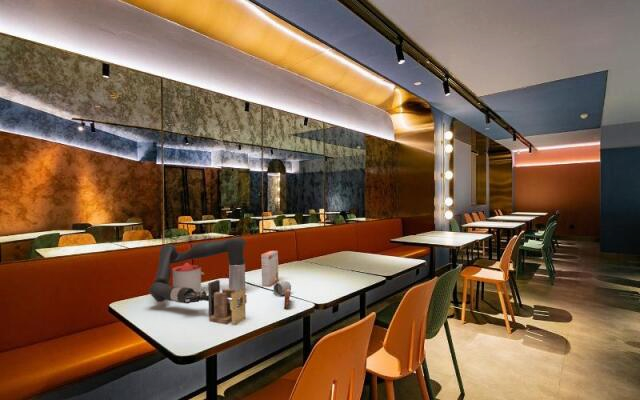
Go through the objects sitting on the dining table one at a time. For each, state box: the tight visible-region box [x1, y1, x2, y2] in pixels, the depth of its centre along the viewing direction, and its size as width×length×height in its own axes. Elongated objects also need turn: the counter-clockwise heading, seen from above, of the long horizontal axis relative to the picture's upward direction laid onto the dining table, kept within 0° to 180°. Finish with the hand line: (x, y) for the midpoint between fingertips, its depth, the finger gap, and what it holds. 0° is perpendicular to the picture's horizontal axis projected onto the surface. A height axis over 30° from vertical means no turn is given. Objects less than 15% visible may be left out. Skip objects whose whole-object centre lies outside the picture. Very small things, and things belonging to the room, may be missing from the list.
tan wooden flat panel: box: [230, 288, 248, 326], centre depth 146 cm, size 2×10×14 cm, turn 157°
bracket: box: [208, 288, 235, 325], centre depth 149 cm, size 10×10×13 cm
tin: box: [283, 288, 291, 309], centre depth 167 cm, size 15×3×8 cm, turn 5°
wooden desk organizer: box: [207, 279, 242, 318], centre depth 148 cm, size 16×6×16 cm, turn 67°
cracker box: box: [260, 250, 279, 287], centre depth 209 cm, size 14×6×21 cm, turn 163°
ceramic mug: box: [272, 281, 292, 297], centre depth 186 cm, size 11×8×8 cm
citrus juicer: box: [171, 262, 205, 292], centre depth 184 cm, size 16×17×20 cm
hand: (209, 298), depth 153 cm, fingers closed
